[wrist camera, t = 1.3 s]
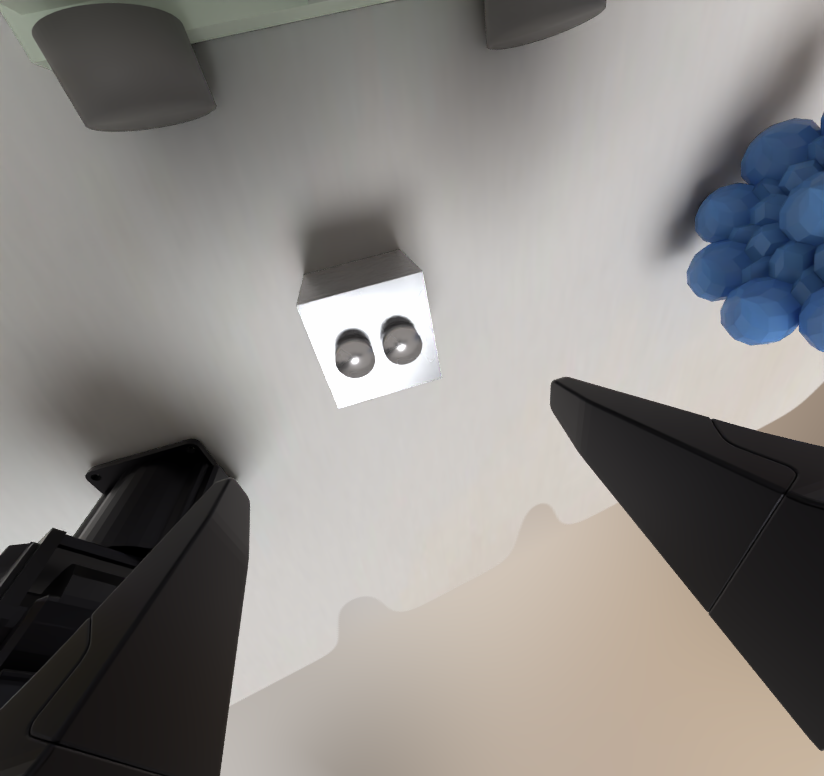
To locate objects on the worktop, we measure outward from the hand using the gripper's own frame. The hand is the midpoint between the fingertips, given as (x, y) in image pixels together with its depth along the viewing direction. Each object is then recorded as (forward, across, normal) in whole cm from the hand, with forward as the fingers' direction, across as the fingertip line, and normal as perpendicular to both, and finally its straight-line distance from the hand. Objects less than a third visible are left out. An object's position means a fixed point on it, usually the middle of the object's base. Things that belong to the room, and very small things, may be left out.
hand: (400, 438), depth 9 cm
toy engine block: (+11, 0, 0) cm, 11 cm away
